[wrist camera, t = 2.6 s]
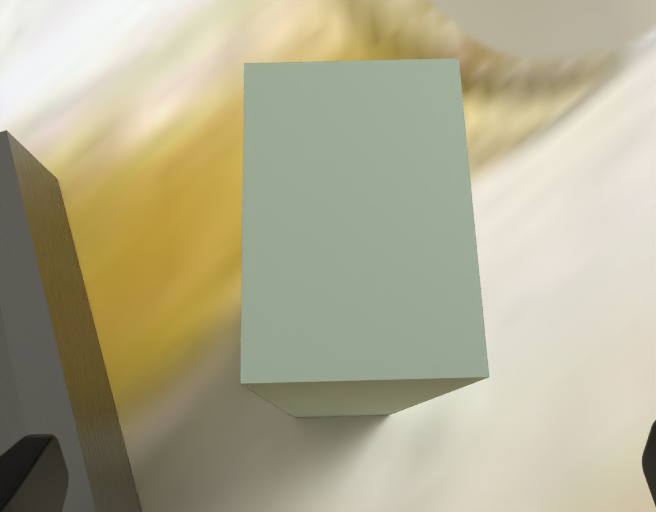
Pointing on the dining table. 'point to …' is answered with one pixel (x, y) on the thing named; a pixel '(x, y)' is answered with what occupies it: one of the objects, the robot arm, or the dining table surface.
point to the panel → (357, 237)
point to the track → (54, 341)
